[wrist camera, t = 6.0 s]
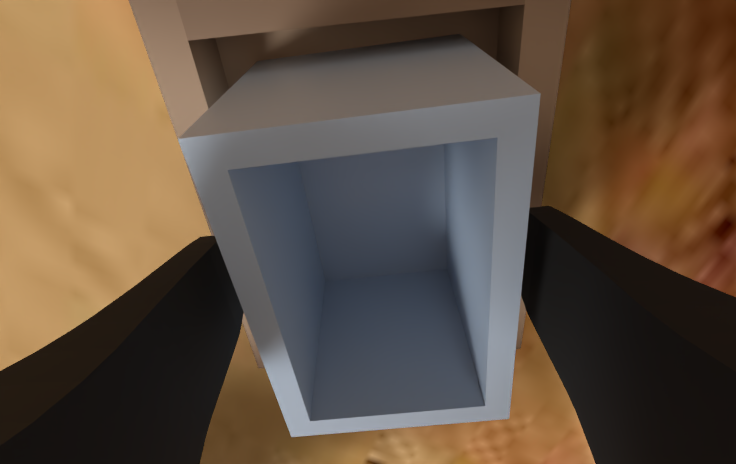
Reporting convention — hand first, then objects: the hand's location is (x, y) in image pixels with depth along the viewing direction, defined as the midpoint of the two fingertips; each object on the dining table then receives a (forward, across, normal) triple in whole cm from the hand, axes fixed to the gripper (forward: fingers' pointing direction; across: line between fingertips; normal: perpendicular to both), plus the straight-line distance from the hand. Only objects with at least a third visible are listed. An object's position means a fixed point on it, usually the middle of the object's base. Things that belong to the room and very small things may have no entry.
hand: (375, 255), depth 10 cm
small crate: (+4, 0, 0) cm, 4 cm away
